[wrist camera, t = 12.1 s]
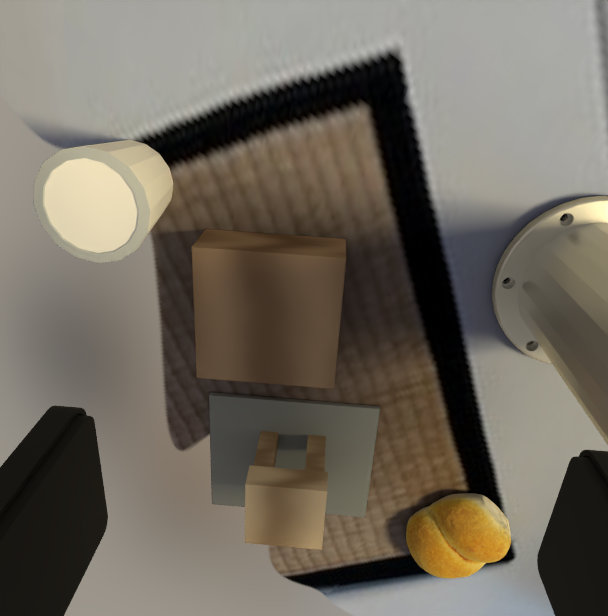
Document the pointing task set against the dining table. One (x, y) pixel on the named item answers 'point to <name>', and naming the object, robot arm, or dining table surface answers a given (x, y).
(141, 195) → the cream cup
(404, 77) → the dining table surface
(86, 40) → the dining table surface
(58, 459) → the robot arm
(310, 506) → the stool
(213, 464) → the mat
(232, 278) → the step
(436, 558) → the bread roll
